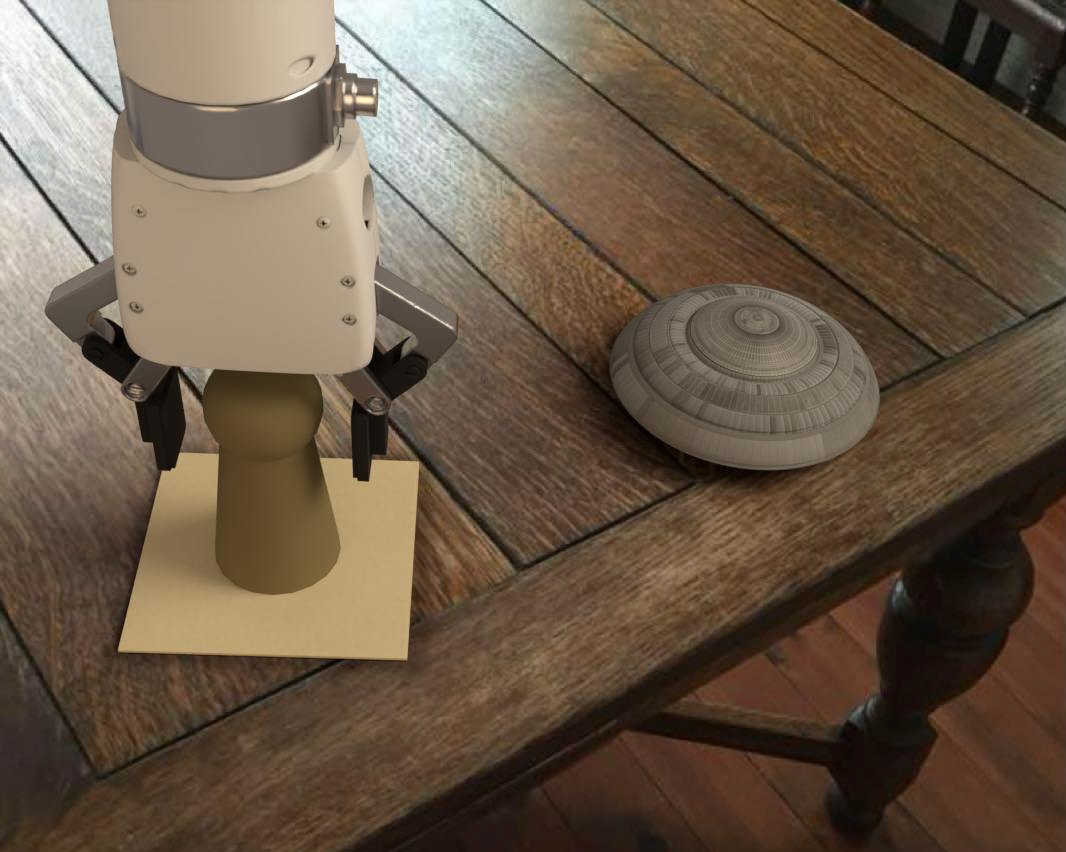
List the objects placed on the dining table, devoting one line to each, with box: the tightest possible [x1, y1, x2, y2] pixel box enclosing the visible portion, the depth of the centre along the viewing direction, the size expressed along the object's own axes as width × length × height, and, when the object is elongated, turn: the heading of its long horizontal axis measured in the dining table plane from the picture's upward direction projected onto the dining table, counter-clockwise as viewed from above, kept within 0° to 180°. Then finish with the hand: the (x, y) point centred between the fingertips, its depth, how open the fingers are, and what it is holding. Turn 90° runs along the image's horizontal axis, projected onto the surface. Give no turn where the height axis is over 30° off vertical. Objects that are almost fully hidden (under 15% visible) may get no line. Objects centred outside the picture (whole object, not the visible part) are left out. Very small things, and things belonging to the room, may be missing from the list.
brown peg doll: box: [201, 369, 341, 595], centre depth 62 cm, size 6×6×11 cm
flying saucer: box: [609, 283, 881, 471], centre depth 74 cm, size 15×15×6 cm
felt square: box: [117, 452, 420, 661], centre depth 66 cm, size 13×13×1 cm
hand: (268, 453), depth 61 cm, fingers open, 8 cm apart
